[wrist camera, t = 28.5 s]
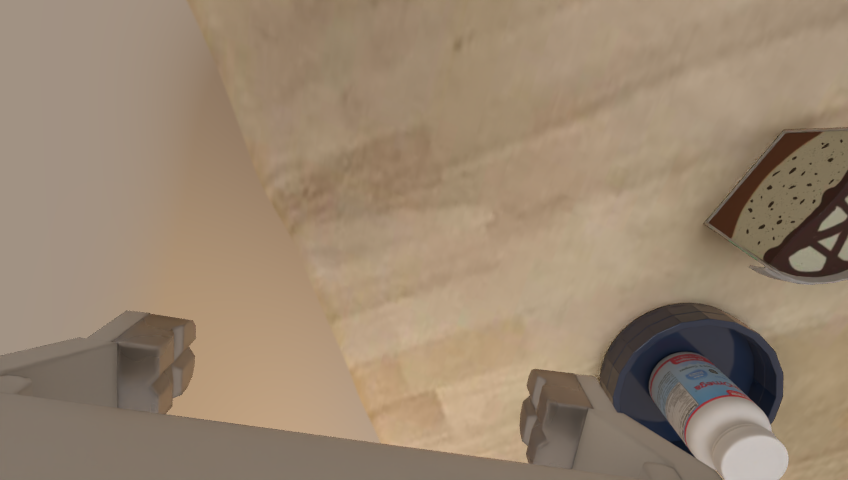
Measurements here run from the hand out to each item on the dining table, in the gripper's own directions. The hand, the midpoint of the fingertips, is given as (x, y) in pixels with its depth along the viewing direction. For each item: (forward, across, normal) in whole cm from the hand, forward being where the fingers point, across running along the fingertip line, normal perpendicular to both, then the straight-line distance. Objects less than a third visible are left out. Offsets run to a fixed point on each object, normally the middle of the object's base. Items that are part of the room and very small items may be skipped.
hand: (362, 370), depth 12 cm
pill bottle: (+31, -27, +14) cm, 43 cm away
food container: (+31, -30, -3) cm, 43 cm away
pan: (+31, -27, +14) cm, 43 cm away
